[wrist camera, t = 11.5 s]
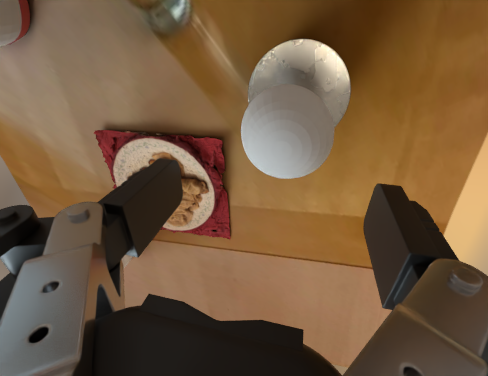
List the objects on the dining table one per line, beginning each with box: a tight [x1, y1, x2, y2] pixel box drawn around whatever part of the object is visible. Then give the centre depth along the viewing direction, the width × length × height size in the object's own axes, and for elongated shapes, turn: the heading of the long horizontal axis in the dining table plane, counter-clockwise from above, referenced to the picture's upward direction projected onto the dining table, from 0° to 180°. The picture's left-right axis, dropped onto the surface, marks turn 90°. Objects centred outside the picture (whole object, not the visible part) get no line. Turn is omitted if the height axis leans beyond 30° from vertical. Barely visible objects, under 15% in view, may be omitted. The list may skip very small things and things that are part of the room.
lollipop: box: [241, 84, 334, 179], centre depth 20 cm, size 6×6×15 cm
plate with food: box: [94, 130, 230, 239], centre depth 51 cm, size 24×26×4 cm
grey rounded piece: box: [248, 39, 351, 127], centre depth 31 cm, size 11×11×12 cm
